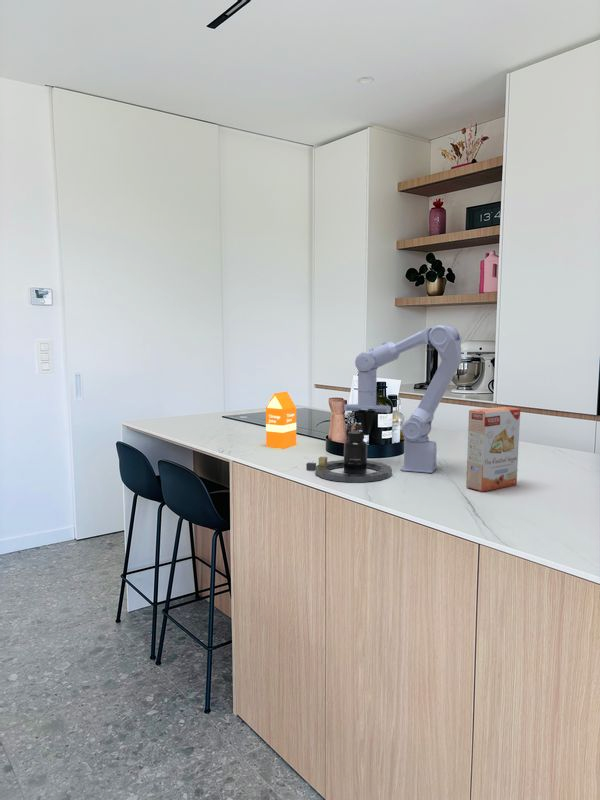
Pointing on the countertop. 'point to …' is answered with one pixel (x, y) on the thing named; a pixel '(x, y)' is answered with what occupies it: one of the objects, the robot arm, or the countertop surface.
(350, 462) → the supplement bottle
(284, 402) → the orange juice
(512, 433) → the cracker box
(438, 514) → the countertop surface
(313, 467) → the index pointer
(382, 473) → the ring
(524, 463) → the countertop surface
